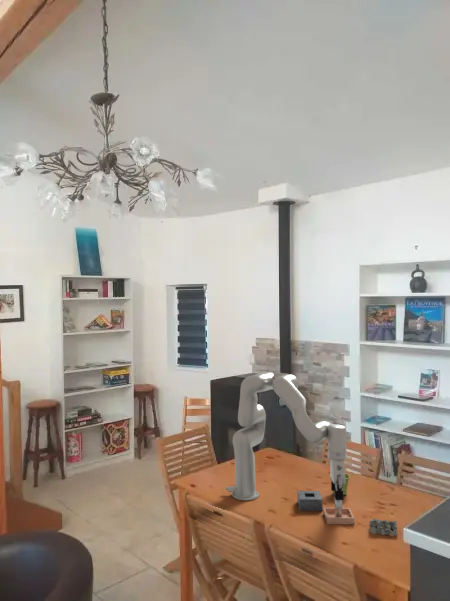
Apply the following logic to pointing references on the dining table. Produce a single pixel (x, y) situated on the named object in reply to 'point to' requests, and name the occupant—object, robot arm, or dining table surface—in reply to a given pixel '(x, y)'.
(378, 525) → the egg carton
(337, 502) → the pin
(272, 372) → the robot arm
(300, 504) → the socket block
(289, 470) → the dining table surface
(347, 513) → the tray
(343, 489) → the plant pot
